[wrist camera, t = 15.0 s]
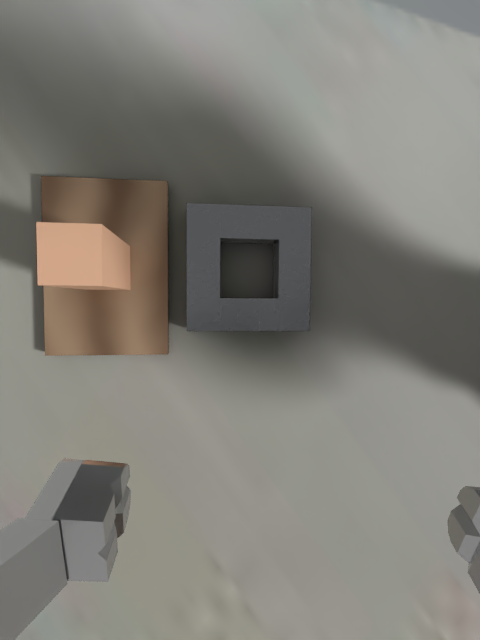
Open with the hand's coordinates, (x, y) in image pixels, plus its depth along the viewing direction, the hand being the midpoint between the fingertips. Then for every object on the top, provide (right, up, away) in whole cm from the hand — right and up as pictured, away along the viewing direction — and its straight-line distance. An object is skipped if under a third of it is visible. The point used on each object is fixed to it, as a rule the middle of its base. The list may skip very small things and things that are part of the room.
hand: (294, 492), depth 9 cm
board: (-14, +9, +26) cm, 30 cm away
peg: (-13, +9, +25) cm, 29 cm away
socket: (-1, +9, +27) cm, 29 cm away
